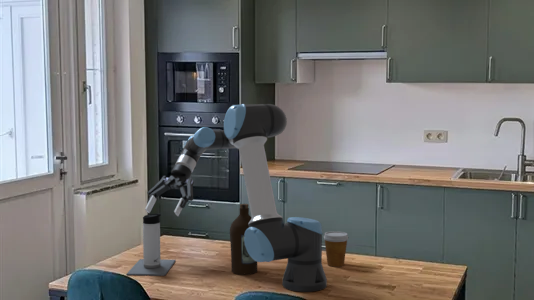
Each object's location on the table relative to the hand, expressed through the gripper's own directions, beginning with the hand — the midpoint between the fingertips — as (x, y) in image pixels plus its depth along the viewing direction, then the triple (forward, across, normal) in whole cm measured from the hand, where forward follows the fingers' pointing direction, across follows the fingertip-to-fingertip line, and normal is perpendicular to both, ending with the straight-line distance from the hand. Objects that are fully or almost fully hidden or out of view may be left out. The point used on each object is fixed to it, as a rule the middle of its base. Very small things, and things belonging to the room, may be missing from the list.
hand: (161, 212), depth 253 cm
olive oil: (+11, -33, -18) cm, 39 cm away
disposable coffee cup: (-6, -60, -35) cm, 69 cm away
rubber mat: (+19, 0, -9) cm, 21 cm away
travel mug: (+19, 0, -9) cm, 21 cm away
